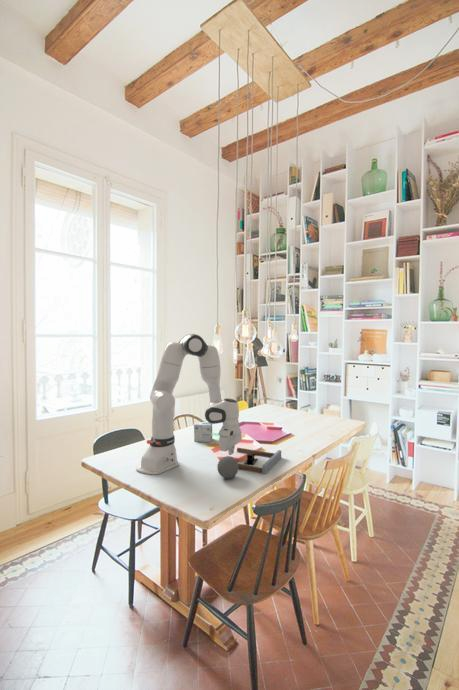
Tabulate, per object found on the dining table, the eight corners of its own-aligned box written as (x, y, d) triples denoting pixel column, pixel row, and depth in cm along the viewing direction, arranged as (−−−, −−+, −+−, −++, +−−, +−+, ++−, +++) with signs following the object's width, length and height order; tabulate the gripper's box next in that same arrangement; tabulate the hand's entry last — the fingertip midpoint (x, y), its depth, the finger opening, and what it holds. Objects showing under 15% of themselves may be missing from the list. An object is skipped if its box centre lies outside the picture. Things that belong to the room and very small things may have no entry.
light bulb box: (212, 438, 232) (212, 421, 231) (211, 442, 225) (210, 424, 224) (196, 438, 233) (195, 421, 232) (193, 441, 226) (193, 424, 225)
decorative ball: (241, 480, 170) (241, 459, 169) (221, 483, 167) (221, 462, 166) (234, 472, 179) (233, 452, 179) (214, 475, 176) (214, 454, 175)
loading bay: (265, 474, 176) (265, 466, 176) (218, 465, 188) (218, 457, 187) (281, 457, 198) (281, 450, 197) (238, 450, 209) (238, 443, 209)
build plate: (254, 468, 186) (254, 459, 185) (240, 466, 188) (240, 457, 188) (260, 459, 198) (260, 450, 197) (247, 457, 200) (246, 449, 200)
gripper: (234, 423, 208) (234, 447, 208) (216, 433, 189) (217, 459, 190) (244, 424, 205) (244, 448, 206) (227, 434, 187) (228, 461, 187)
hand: (231, 454), depth 198 cm, fingers closed
